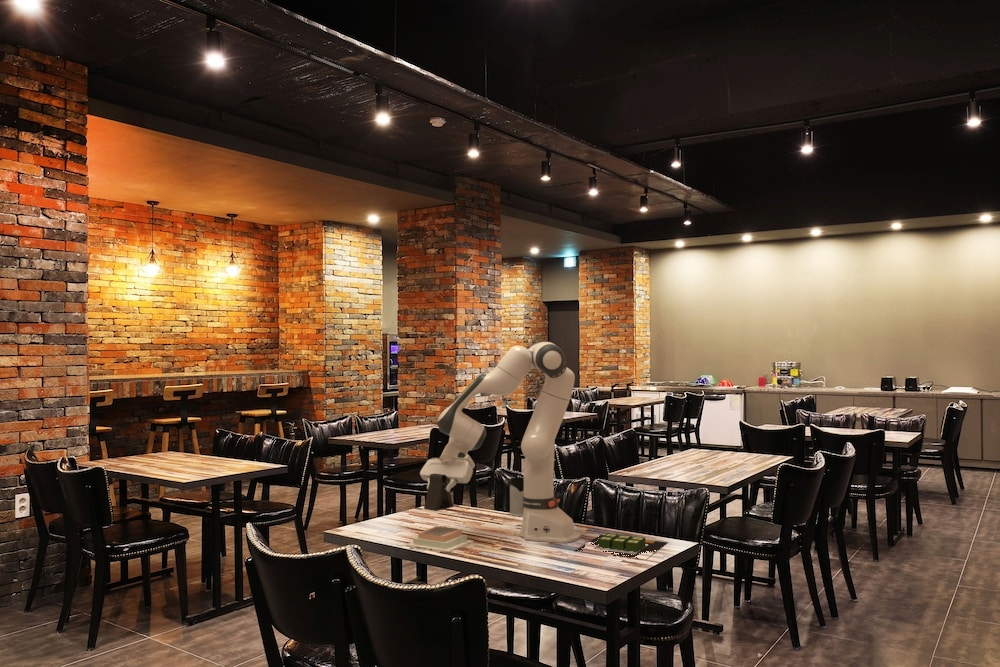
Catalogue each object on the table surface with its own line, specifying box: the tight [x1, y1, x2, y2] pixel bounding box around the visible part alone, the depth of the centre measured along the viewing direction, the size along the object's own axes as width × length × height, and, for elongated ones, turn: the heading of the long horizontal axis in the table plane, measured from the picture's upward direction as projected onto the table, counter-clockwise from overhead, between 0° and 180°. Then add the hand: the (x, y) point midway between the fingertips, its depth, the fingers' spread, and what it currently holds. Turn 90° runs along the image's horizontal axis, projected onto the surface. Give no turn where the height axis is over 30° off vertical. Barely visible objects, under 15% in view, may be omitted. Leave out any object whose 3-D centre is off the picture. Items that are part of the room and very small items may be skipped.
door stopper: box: [423, 473, 455, 512], centre depth 264 cm, size 9×6×12 cm, turn 139°
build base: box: [405, 526, 475, 553], centre depth 262 cm, size 18×16×5 cm
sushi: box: [574, 532, 669, 560], centre depth 256 cm, size 25×25×4 cm
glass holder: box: [508, 476, 524, 516], centre depth 311 cm, size 9×14×15 cm, turn 123°
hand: (437, 490), depth 263 cm, fingers closed on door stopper, 6 cm apart
